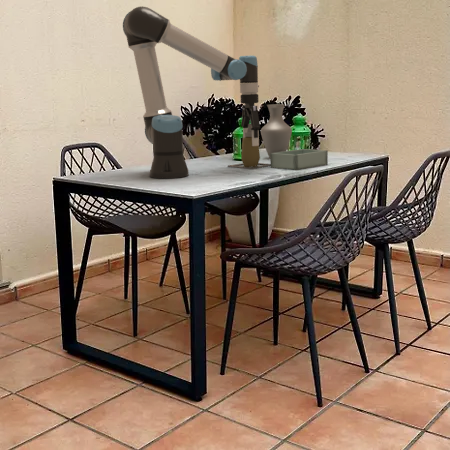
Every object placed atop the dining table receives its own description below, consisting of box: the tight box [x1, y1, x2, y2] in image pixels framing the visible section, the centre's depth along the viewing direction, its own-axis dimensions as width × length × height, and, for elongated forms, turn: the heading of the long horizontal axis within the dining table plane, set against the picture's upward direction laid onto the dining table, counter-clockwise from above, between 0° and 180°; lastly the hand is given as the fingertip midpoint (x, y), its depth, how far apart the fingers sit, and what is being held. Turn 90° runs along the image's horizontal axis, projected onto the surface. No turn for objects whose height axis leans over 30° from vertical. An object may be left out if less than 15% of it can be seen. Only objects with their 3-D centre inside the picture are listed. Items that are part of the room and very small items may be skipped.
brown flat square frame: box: [227, 162, 271, 170], centre depth 274 cm, size 14×14×1 cm
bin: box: [269, 148, 329, 171], centre depth 269 cm, size 21×14×6 cm, turn 134°
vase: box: [260, 103, 293, 159], centre depth 297 cm, size 14×14×25 cm
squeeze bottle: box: [240, 123, 261, 167], centre depth 272 cm, size 8×8×18 cm
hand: (251, 144), depth 272 cm, fingers open, 13 cm apart
